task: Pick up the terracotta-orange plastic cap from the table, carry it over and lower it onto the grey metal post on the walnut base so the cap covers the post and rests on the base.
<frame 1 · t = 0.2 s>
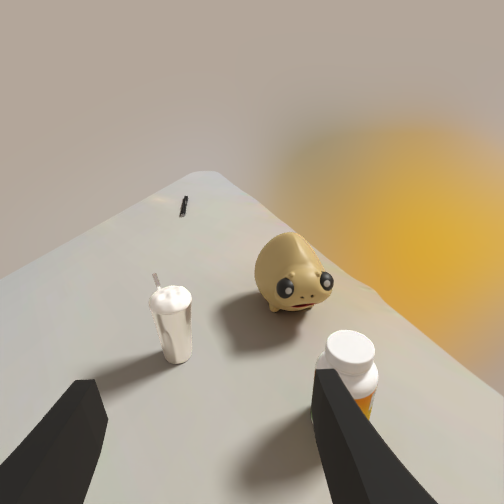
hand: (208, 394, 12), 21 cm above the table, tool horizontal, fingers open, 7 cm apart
supplement bottle: (338, 421, 34), on the table
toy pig: (291, 308, 50), on the table
black stick: (184, 208, 85), on the table
milkshake: (177, 353, 43), on the table
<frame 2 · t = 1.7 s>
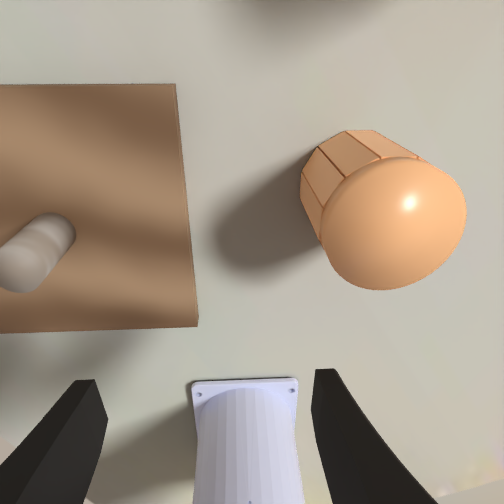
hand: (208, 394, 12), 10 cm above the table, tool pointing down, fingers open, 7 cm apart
wire nut cap: (351, 183, 19), on the table
post block: (62, 223, 20), on the table
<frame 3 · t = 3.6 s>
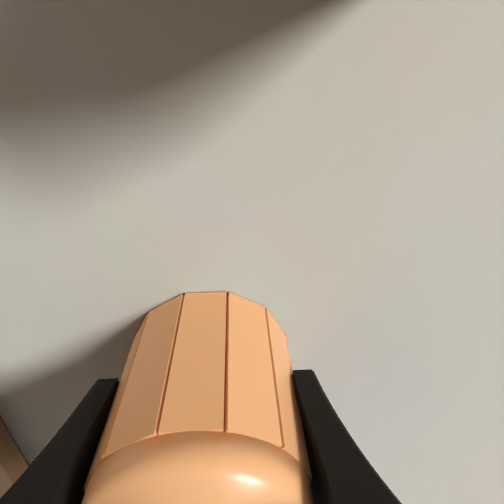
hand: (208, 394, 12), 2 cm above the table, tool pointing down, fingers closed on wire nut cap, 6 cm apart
wire nut cap: (211, 351, 13), on the table, touching gripper
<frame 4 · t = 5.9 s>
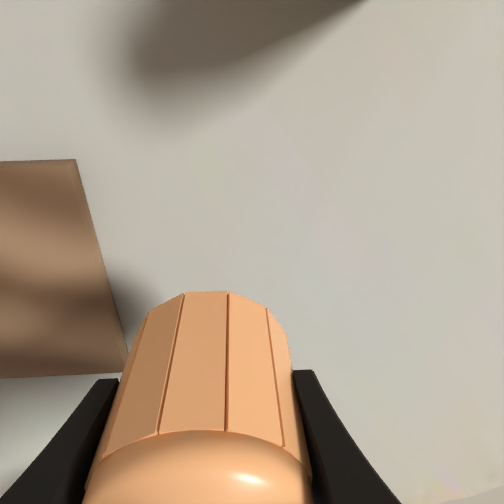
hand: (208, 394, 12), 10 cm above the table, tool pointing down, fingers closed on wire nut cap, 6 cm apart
wire nut cap: (211, 351, 13), point 8 cm above the table, touching gripper
when the fingers open (4 cm above the table, at t = 8.6 s): wire nut cap stays where it is, resting on post block.
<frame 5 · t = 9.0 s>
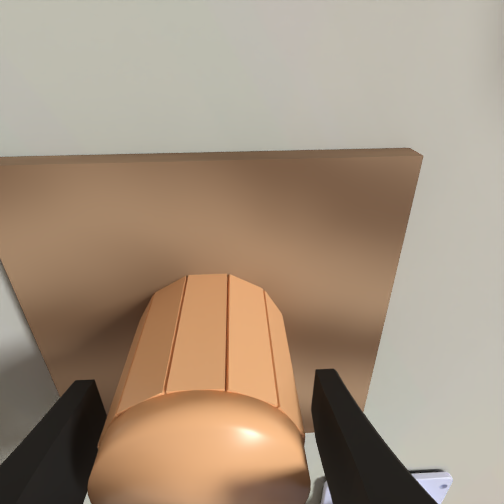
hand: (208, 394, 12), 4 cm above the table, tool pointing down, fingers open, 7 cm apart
wire nut cap: (212, 332, 14), point 1 cm above the table, touching post block
post block: (213, 316, 15), on the table
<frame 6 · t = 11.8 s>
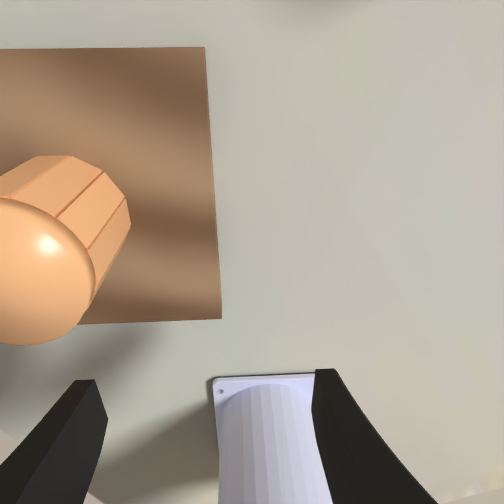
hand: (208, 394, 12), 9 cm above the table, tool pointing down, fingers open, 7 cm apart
wire nut cap: (70, 213, 17), point 1 cm above the table, touching post block
post block: (78, 206, 18), on the table
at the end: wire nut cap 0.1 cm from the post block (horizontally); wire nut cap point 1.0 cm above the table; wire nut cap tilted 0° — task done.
